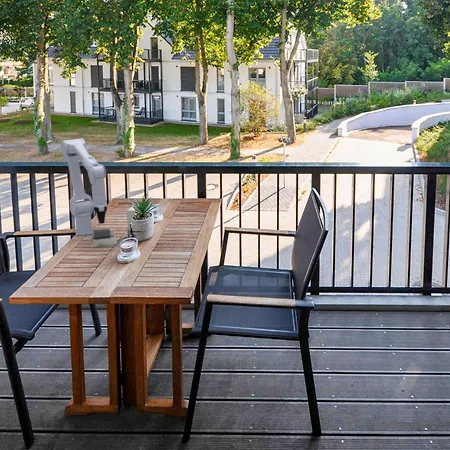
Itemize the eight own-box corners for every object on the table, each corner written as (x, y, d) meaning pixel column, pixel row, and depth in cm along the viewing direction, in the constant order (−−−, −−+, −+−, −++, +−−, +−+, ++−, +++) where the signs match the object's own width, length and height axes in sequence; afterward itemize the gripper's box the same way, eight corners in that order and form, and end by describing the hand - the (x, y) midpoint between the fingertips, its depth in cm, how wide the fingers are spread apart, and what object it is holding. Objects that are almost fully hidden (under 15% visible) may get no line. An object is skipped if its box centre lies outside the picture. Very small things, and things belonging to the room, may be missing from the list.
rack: (89, 238, 293) (88, 232, 292) (113, 236, 296) (113, 229, 295) (91, 247, 281) (91, 240, 280) (116, 244, 284) (116, 237, 283)
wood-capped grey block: (94, 240, 286) (93, 230, 285) (110, 239, 288) (109, 228, 286) (94, 242, 283) (93, 232, 282) (110, 241, 285) (109, 230, 284)
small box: (139, 232, 301) (137, 210, 298) (128, 232, 302) (126, 210, 299) (144, 227, 308) (143, 206, 305) (133, 227, 309) (132, 206, 306)
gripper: (88, 190, 285) (91, 219, 289) (90, 197, 272) (93, 228, 276) (104, 189, 287) (107, 218, 291) (107, 196, 274) (110, 226, 277)
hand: (101, 223), depth 283 cm, fingers closed
